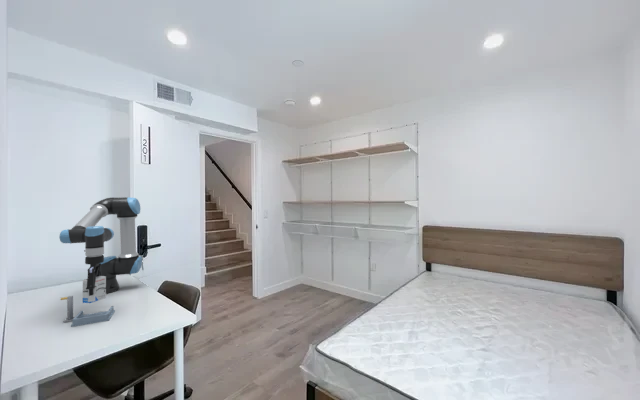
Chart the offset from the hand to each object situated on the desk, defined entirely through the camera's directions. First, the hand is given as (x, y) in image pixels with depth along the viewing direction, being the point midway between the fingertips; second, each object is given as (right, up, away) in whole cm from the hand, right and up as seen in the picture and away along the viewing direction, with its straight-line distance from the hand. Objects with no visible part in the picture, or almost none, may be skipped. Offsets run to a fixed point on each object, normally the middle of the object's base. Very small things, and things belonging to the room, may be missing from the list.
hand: (94, 298), depth 140 cm
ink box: (0, -1, 0) cm, 1 cm away
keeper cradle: (-3, -11, -2) cm, 11 cm away
